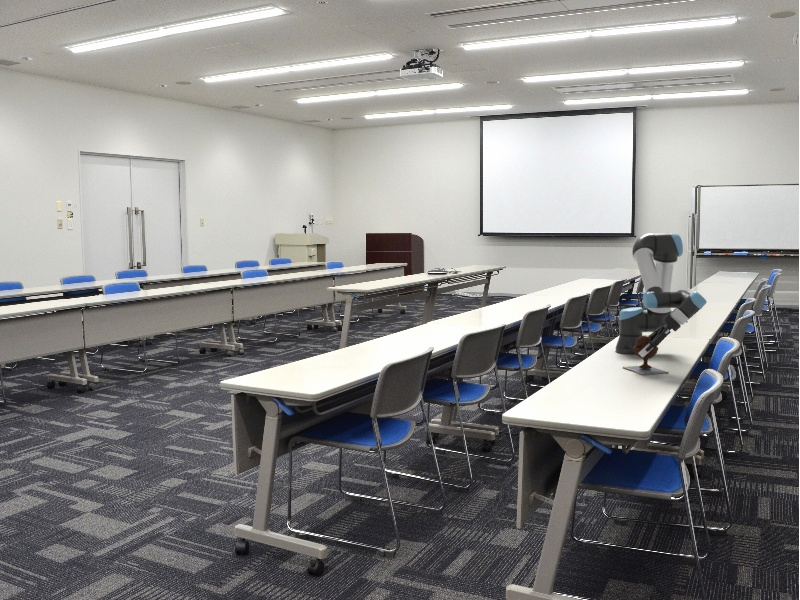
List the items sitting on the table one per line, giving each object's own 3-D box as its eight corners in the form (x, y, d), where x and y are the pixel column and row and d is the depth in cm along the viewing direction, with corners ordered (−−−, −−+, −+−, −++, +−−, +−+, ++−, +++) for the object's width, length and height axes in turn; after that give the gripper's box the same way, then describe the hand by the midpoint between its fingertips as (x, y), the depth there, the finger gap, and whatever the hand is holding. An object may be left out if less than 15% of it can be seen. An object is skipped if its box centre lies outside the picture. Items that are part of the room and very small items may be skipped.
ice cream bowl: (659, 370, 322) (660, 337, 320) (634, 369, 324) (634, 337, 323) (656, 365, 332) (656, 333, 331) (631, 365, 334) (631, 333, 333)
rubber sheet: (622, 368, 335) (622, 366, 335) (647, 366, 338) (647, 365, 338) (642, 375, 319) (642, 373, 318) (668, 373, 321) (668, 371, 321)
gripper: (686, 329, 312) (648, 363, 317) (677, 322, 334) (641, 354, 339) (673, 317, 312) (635, 351, 317) (665, 311, 335) (630, 343, 340)
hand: (638, 353), depth 328 cm, fingers closed on ice cream bowl, 10 cm apart
